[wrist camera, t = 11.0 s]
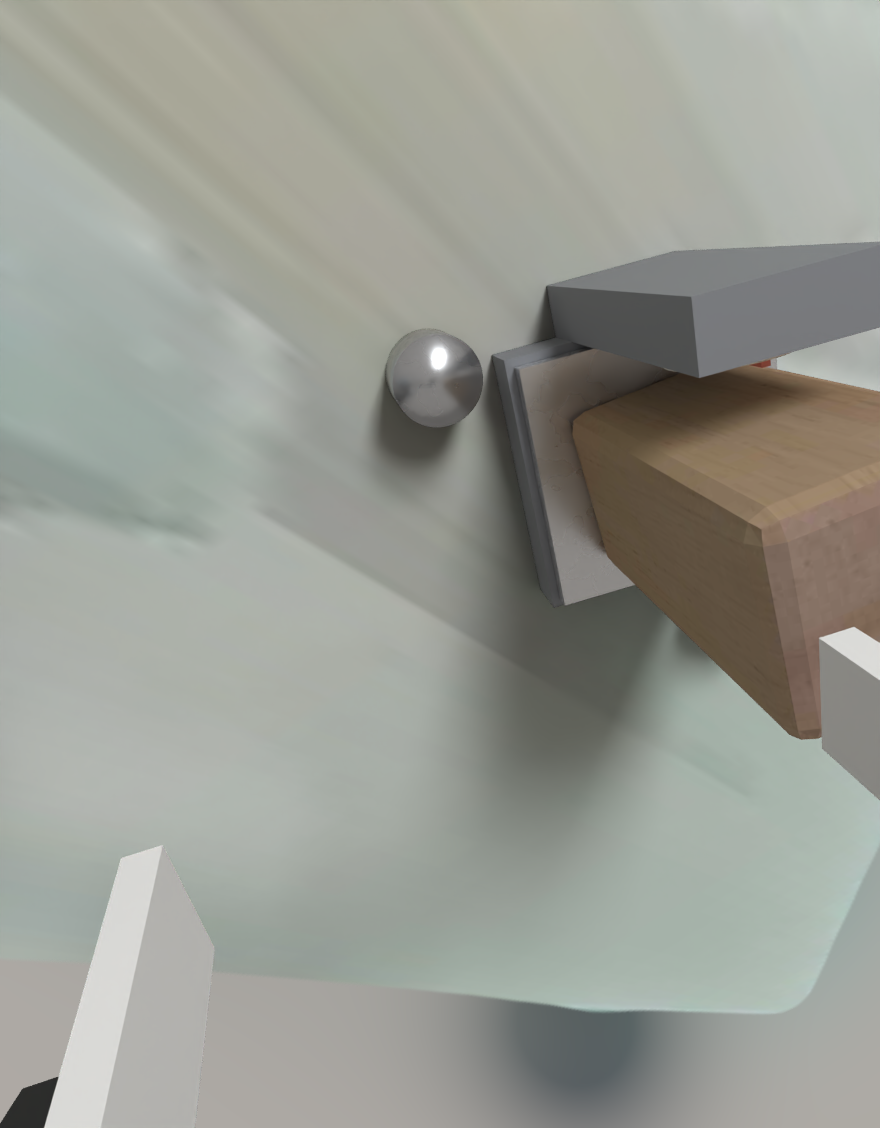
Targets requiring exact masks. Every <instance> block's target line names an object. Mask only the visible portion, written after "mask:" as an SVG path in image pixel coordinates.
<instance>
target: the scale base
mask: <svg viewBox="0 0 880 1128" xmlns="http://www.w3.org/2000/svg"><path fill="white" fill-rule="evenodd" d="M547 291H548V297H549V302H550V308H551V314H552V320H553V326H554V331H555V337H556V338H552V339H548V340H545V341H541V342H537V343H534V344H530V345H527V346H523V347H519V348H516V349H512V350H508V351H505V352H501V353H497V354H494V355H492V357H493V362H494V367H495V372H496V377H497V381H498V386H499V391H500V396H501V401H502V406H503V410H504V415H505V420H506V425H507V430H508V435H509V439H510V444H511V449H512V454H513V459H514V464H515V468H516V473H517V478H518V483H519V488H520V493H521V497H522V502H523V507H524V512H525V517H526V521H527V526H528V531H529V536H530V541H531V546H532V550H533V555H534V560H535V565H536V570H537V575H538V579H539V584H540V589H541V591H542V592H543V593H544V595H545V596H546V598H547V599H548V600H549V602H550V603H551V604H552V606H553V607H558V606H561V605H564V604H563V602H562V601H561V600H560V596H559V591H558V586H557V581H556V575H555V570H554V565H553V560H552V555H551V550H550V545H549V540H548V535H547V530H546V525H545V520H544V514H543V509H542V504H541V499H540V494H539V489H538V484H537V479H536V474H535V469H534V464H533V458H532V453H531V448H530V443H529V438H528V433H527V428H526V423H525V418H524V413H523V408H522V402H521V397H520V392H519V387H518V382H517V377H516V372H515V367H518V366H521V365H525V364H529V363H532V362H536V361H539V360H543V359H547V358H550V357H554V356H557V355H561V354H565V353H568V352H572V351H576V350H579V349H583V348H586V347H591V348H594V349H598V350H602V351H605V352H609V353H612V354H616V355H619V356H623V357H626V358H630V359H634V360H637V361H641V362H644V363H648V364H651V365H655V366H658V367H662V368H664V369H666V370H669V371H675V372H680V373H683V374H687V375H690V376H694V377H697V378H701V377H705V376H709V375H712V374H716V373H719V372H723V371H726V370H730V369H733V368H737V367H742V366H747V365H750V366H755V367H759V368H764V367H768V366H771V359H774V358H778V357H780V356H783V355H786V354H789V353H791V352H794V351H797V350H801V349H804V348H808V347H812V346H815V345H819V344H822V343H826V342H829V341H833V340H836V339H840V338H844V337H847V336H851V335H854V334H858V333H861V332H865V331H868V330H872V329H875V328H879V327H880V242H864V243H842V244H820V245H798V246H776V247H754V248H732V249H710V250H688V251H674V252H670V253H666V254H663V255H659V256H655V257H651V258H648V259H644V260H640V261H637V262H633V263H629V264H626V265H622V266H618V267H614V268H611V269H607V270H603V271H600V272H596V273H592V274H589V275H585V276H581V277H577V278H574V279H570V280H566V281H563V282H559V283H555V284H552V285H548V286H547Z"/></svg>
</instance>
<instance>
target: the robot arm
mask: <svg viewBox="0 0 880 1128" xmlns="http://www.w3.org/2000/svg"><path fill="white" fill-rule="evenodd" d="M819 659H820V692H821V724H822V749H823V750H824V751H825V752H827V753H828V754H829V755H830V756H831V757H832V758H833V759H834V760H835V761H837V762H838V763H839V764H840V765H841V766H842V767H843V768H844V769H845V770H847V771H848V772H849V773H850V774H851V775H852V776H853V777H854V778H856V779H857V780H858V781H859V782H860V783H861V784H862V785H863V786H864V787H866V788H867V789H868V790H869V791H870V792H871V793H872V794H873V795H874V796H876V797H877V798H878V799H879V800H880V643H879V642H877V641H876V640H874V639H873V638H871V637H869V636H868V635H866V634H865V633H863V632H862V631H860V630H858V629H857V628H855V627H852V628H849V629H846V630H843V631H840V632H836V633H833V634H830V635H827V636H824V637H820V638H819ZM214 951H215V948H214V946H213V944H212V942H211V940H210V938H209V936H208V934H207V932H206V930H205V928H204V926H203V924H202V922H201V920H200V918H199V916H198V914H197V912H196V910H195V908H194V906H193V904H192V902H191V900H190V898H189V896H188V894H187V892H186V890H185V888H184V886H183V884H182V882H181V880H180V878H179V876H178V874H177V872H176V870H175V868H174V866H173V864H172V862H171V860H170V858H169V856H168V854H167V852H166V850H165V848H164V846H163V845H161V846H158V847H155V848H151V849H148V850H145V851H142V852H139V853H136V854H132V855H129V856H126V857H123V858H121V861H120V864H119V868H118V871H117V875H116V878H115V882H114V885H113V889H112V892H111V896H110V899H109V903H108V906H107V910H106V913H105V917H104V920H103V924H102V927H101V931H100V934H99V938H98V941H97V945H96V948H95V952H94V955H93V959H92V962H91V966H90V969H89V973H88V976H87V980H86V983H85V987H84V990H83V994H82V997H81V1001H80V1005H79V1008H78V1012H77V1015H76V1018H75V1022H74V1025H73V1029H72V1032H71V1036H70V1039H69V1043H68V1047H67V1050H66V1053H65V1057H64V1060H63V1064H62V1067H61V1071H60V1074H59V1077H56V1078H53V1079H50V1080H47V1081H44V1082H41V1083H38V1084H35V1085H32V1086H29V1087H26V1088H23V1089H22V1090H21V1092H20V1094H19V1095H18V1097H17V1098H16V1100H15V1101H14V1103H13V1104H12V1106H11V1108H10V1109H9V1111H8V1112H7V1114H6V1116H5V1117H4V1118H3V1120H2V1122H1V1123H0V1128H195V1125H196V1116H197V1107H198V1098H199V1089H200V1079H201V1070H202V1061H203V1052H204V1043H205V1033H206V1024H207V1015H208V1005H209V997H210V988H211V979H212V970H213V961H214Z"/></svg>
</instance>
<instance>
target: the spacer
mask: <svg viewBox="0 0 880 1128" xmlns="http://www.w3.org/2000/svg"><path fill="white" fill-rule="evenodd" d="M386 380H387V384H388V387H389V390H390V392H391V394H392V395H393V397H394V399H395V400H396V402H397V403H398V405H399V406H400V408H401V409H402V411H403V412H404V413H405V414H406V415H407V416H408V417H409V418H410V419H412V420H413V421H415V422H417V423H419V424H421V425H424V426H428V427H446V426H450V425H453V424H455V423H457V422H459V421H461V420H462V419H464V418H465V417H466V416H467V415H468V414H469V413H470V412H471V411H472V410H473V409H474V407H475V406H476V404H477V402H478V400H479V398H480V395H481V391H482V386H483V374H482V368H481V365H480V362H479V360H478V358H477V356H476V354H475V353H474V352H473V350H472V349H471V348H470V347H469V346H468V345H467V344H466V343H464V342H463V341H461V340H459V339H458V338H456V337H453V336H451V335H449V334H447V333H445V332H443V331H440V330H436V329H420V330H416V331H413V332H411V333H409V334H407V335H405V336H404V337H402V338H401V339H400V340H399V341H398V342H397V343H396V345H395V346H394V347H393V349H392V350H391V352H390V354H389V357H388V360H387V365H386Z"/></svg>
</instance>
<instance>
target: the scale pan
mask: <svg viewBox="0 0 880 1128" xmlns="http://www.w3.org/2000/svg"><path fill="white" fill-rule="evenodd" d="M768 368H773V369H777V359H776V358H774V359H771V366H768ZM515 372H516V377H517V382H518V387H519V392H520V397H521V402H522V408H523V413H524V418H525V423H526V428H527V433H528V438H529V443H530V448H531V453H532V458H533V464H534V469H535V474H536V479H537V484H538V489H539V494H540V499H541V504H542V509H543V514H544V520H545V525H546V530H547V535H548V540H549V545H550V550H551V555H552V560H553V565H554V570H555V575H556V581H557V586H558V591H559V596H560V600H561V601H562V602H563V604H564V605H565V606H566V605H569V604H572V603H576V602H579V601H582V600H586V599H589V598H592V597H596V596H599V595H603V594H606V593H609V592H613V591H616V590H619V589H623V588H626V587H629V586H633V585H635V584H634V583H633V582H632V581H631V580H630V579H629V578H628V577H627V576H626V575H625V574H623V573H622V572H621V571H620V570H619V569H618V568H617V567H616V566H615V565H614V564H613V563H612V561H611V560H610V559H609V558H608V557H607V553H606V550H605V546H604V543H603V540H602V536H601V533H600V529H599V526H598V522H597V519H596V515H595V512H594V508H593V505H592V501H591V498H590V494H589V491H588V487H587V484H586V481H585V477H584V474H583V470H582V467H581V463H580V460H579V456H578V453H577V449H576V446H575V442H574V439H573V435H572V433H573V420H575V419H576V418H577V417H578V416H580V415H581V414H582V413H583V412H585V411H587V410H590V409H592V408H595V407H597V406H600V405H602V404H605V403H607V402H610V401H612V400H615V399H617V398H620V397H622V396H625V395H627V394H630V393H632V392H635V391H637V390H640V389H642V388H645V387H647V386H650V385H652V384H655V383H657V382H660V381H662V380H665V379H667V378H670V377H672V376H675V375H677V374H680V372H675V371H669V370H666V369H664V368H662V367H658V366H655V365H651V364H648V363H644V362H641V361H637V360H634V359H630V358H626V357H623V356H619V355H616V354H612V353H609V352H605V351H602V350H598V349H594V348H591V347H586V348H583V349H579V350H576V351H572V352H568V353H565V354H561V355H557V356H554V357H550V358H547V359H543V360H539V361H536V362H532V363H529V364H525V365H521V366H518V367H515Z"/></svg>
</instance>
